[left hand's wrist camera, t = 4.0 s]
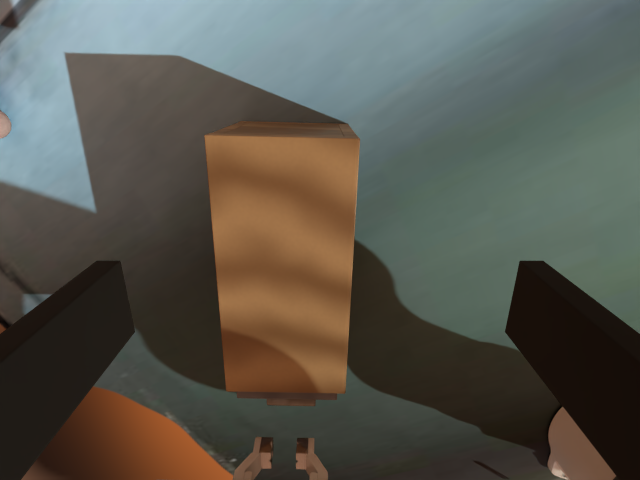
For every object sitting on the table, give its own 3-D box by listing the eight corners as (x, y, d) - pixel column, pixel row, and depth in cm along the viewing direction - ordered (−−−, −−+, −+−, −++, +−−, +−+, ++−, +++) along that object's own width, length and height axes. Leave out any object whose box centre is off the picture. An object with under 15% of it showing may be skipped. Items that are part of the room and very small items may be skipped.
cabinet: (339, 317, 43) (345, 393, 32) (250, 315, 43) (226, 391, 32) (348, 123, 36) (360, 138, 25) (239, 121, 36) (204, 134, 25)
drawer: (331, 375, 45) (334, 447, 36) (256, 374, 45) (240, 446, 36) (340, 157, 36) (347, 180, 27) (246, 155, 36) (220, 177, 27)
